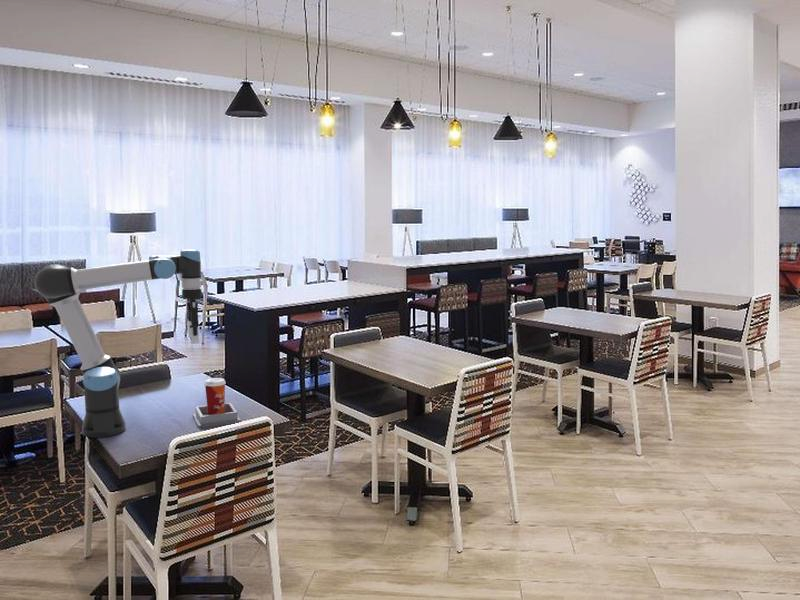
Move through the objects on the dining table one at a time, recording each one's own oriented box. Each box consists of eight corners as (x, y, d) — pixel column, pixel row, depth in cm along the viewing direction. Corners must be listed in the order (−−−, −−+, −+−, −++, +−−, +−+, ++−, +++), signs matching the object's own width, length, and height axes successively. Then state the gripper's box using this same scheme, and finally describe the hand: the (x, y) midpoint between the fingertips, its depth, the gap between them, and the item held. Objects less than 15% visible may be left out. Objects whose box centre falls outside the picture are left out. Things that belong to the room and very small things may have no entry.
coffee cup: (221, 420, 263) (219, 383, 261) (201, 419, 264) (200, 382, 262) (230, 414, 271) (229, 377, 269) (211, 412, 272) (210, 376, 270)
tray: (198, 428, 257) (198, 417, 257) (192, 415, 272) (192, 406, 271) (240, 422, 264) (240, 412, 263) (232, 410, 278) (232, 401, 278)
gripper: (204, 291, 260) (206, 345, 263) (198, 284, 283) (200, 333, 286) (184, 292, 257) (186, 346, 260) (179, 285, 280) (181, 335, 283)
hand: (193, 340), depth 273 cm, fingers open, 13 cm apart
